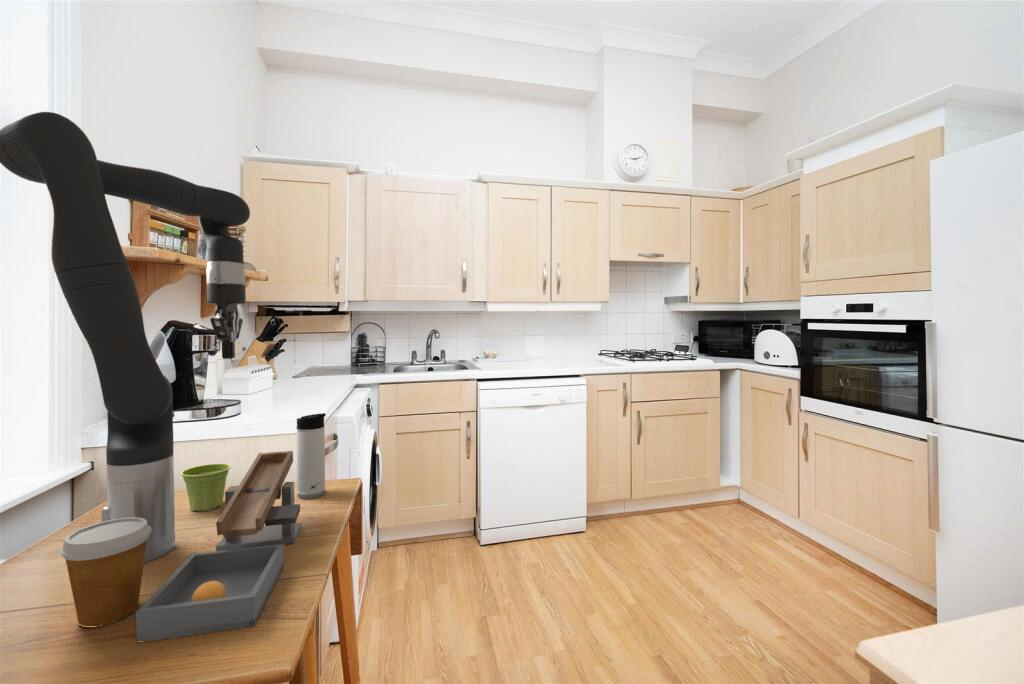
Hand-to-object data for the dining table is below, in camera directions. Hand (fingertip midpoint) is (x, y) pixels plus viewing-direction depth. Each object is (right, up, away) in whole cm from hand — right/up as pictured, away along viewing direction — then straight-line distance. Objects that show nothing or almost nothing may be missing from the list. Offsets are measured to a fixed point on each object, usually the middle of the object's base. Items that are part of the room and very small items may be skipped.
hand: (228, 358), depth 102 cm
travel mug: (+16, -34, +7) cm, 38 cm away
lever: (+19, -28, -16) cm, 37 cm away
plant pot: (-5, -34, -1) cm, 35 cm away
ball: (+23, -32, -40) cm, 56 cm away
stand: (+17, -34, -17) cm, 42 cm away
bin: (+22, -35, -36) cm, 55 cm away
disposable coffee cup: (+8, -35, -40) cm, 54 cm away
